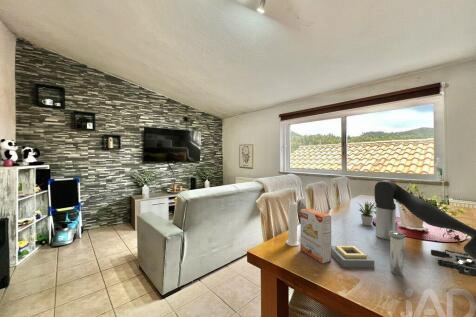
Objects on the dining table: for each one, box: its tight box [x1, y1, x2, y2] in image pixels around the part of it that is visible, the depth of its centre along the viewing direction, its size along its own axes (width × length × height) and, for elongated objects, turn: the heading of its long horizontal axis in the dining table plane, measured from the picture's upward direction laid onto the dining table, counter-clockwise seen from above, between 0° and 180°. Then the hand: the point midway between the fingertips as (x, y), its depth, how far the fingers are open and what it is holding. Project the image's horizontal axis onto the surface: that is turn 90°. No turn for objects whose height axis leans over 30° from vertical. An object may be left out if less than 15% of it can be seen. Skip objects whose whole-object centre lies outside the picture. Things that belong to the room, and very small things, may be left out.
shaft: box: [389, 230, 406, 277], centre depth 79 cm, size 5×5×16 cm
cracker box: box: [299, 207, 332, 265], centre depth 92 cm, size 14×6×21 cm, turn 23°
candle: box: [285, 197, 300, 247], centre depth 105 cm, size 7×7×25 cm
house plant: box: [357, 201, 376, 226], centre depth 135 cm, size 14×14×16 cm
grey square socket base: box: [331, 245, 375, 269], centre depth 89 cm, size 13×13×4 cm
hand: (434, 256), depth 73 cm, fingers open, 8 cm apart
